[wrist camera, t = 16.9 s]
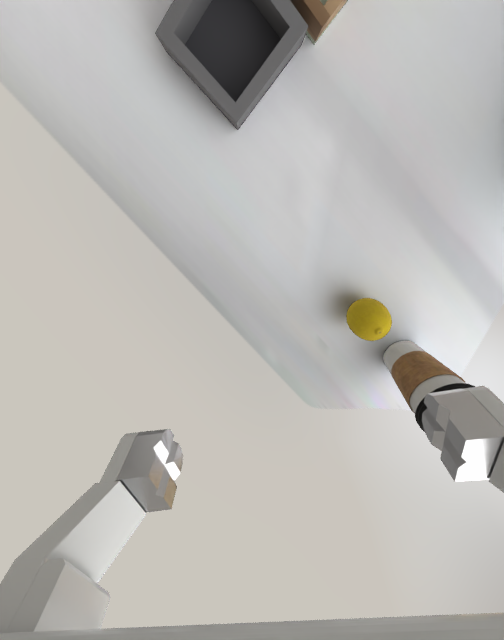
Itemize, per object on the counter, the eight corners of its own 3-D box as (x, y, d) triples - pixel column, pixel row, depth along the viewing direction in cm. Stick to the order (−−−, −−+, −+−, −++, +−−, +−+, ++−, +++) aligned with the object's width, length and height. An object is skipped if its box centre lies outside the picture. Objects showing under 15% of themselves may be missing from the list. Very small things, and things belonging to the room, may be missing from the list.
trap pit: (228, -52, 26) (225, -91, 22) (300, 45, 29) (308, 26, 25) (166, 51, 29) (155, 33, 25) (237, 129, 32) (236, 123, 28)
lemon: (334, 318, 43) (351, 345, 36) (348, 286, 41) (370, 308, 34) (366, 326, 44) (389, 354, 37) (382, 295, 41) (410, 318, 34)
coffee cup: (436, 351, 46) (513, 420, 33) (395, 382, 49) (451, 457, 36) (406, 324, 44) (476, 386, 30) (365, 358, 47) (412, 428, 33)
